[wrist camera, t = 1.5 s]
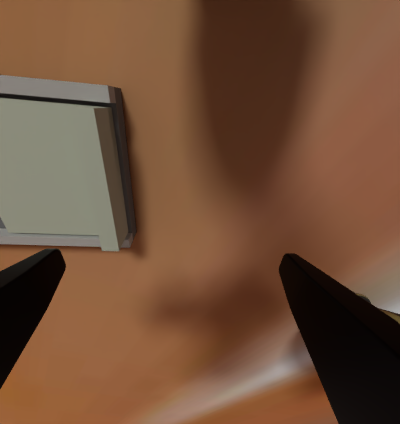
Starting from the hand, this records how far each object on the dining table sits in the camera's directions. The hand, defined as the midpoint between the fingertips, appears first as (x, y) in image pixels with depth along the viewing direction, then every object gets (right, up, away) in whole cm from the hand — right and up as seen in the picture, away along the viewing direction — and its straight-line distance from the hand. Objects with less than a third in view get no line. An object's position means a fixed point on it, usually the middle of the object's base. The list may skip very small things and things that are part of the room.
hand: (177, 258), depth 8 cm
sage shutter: (-12, +5, +9) cm, 15 cm away
